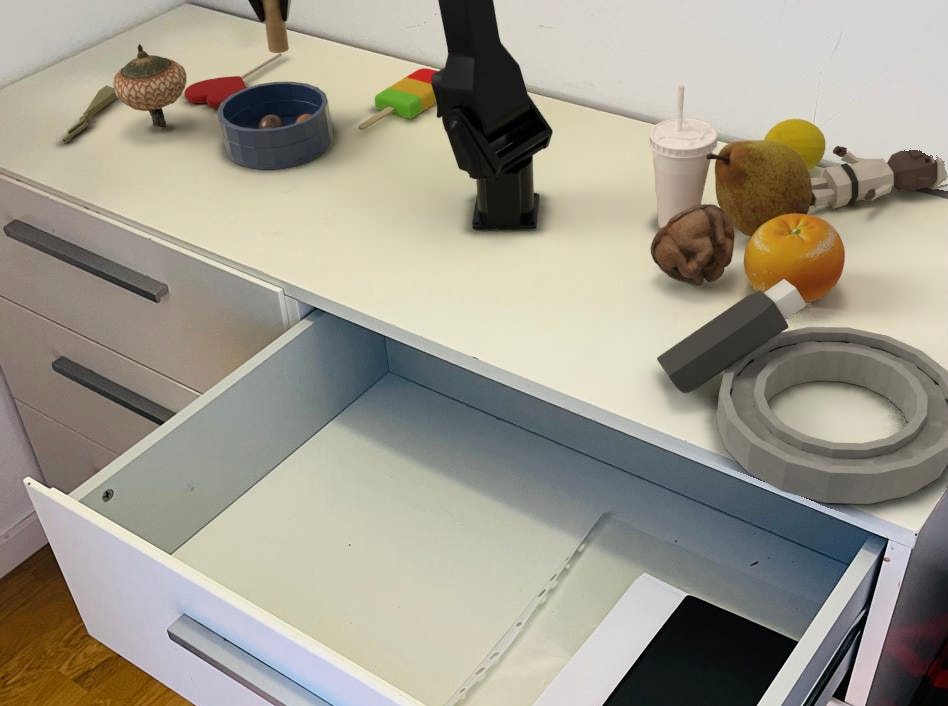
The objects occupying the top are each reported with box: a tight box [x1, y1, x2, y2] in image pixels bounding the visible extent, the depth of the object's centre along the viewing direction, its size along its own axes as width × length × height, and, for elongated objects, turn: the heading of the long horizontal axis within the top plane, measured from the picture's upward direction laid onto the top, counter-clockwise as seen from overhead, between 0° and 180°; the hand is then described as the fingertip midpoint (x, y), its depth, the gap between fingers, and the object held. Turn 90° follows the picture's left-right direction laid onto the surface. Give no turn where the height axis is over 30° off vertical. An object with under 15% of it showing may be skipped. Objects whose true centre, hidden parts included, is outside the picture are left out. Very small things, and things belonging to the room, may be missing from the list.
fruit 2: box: [706, 139, 812, 238], centre depth 110 cm, size 9×9×12 cm
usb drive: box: [656, 279, 807, 394], centre depth 95 cm, size 5×12×3 cm
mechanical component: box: [716, 326, 948, 505], centre depth 92 cm, size 18×18×3 cm
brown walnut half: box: [650, 203, 736, 287], centre depth 106 cm, size 8×8×5 cm
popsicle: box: [357, 67, 438, 131], centre depth 137 cm, size 6×15×2 cm, turn 144°
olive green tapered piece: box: [62, 85, 118, 144], centre depth 140 cm, size 12×3×1 cm, turn 156°
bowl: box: [216, 81, 334, 170], centre depth 132 cm, size 12×12×4 cm
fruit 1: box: [763, 118, 826, 171], centre depth 120 cm, size 6×6×8 cm
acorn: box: [112, 43, 187, 130], centre depth 134 cm, size 8×8×10 cm
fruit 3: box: [743, 213, 846, 304], centre depth 104 cm, size 8×8×8 cm
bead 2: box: [295, 114, 312, 123], centre depth 131 cm, size 3×3×3 cm
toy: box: [810, 145, 948, 210], centre depth 116 cm, size 8×5×15 cm
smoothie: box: [648, 84, 719, 230], centre depth 111 cm, size 6×6×14 cm
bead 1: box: [259, 115, 285, 129], centre depth 131 cm, size 3×3×3 cm
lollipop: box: [183, 53, 282, 110], centre depth 145 cm, size 8×1×15 cm
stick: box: [262, 0, 290, 54], centre depth 125 cm, size 2×2×9 cm
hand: (274, 20), depth 126 cm, fingers closed on stick, 2 cm apart
